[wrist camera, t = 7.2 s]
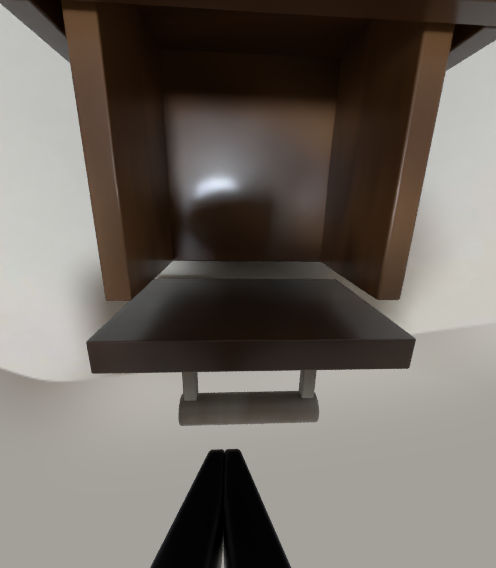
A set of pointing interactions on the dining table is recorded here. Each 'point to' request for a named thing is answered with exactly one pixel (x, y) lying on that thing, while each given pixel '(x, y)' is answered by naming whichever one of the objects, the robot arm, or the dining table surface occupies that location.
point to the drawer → (252, 188)
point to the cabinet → (341, 3)
